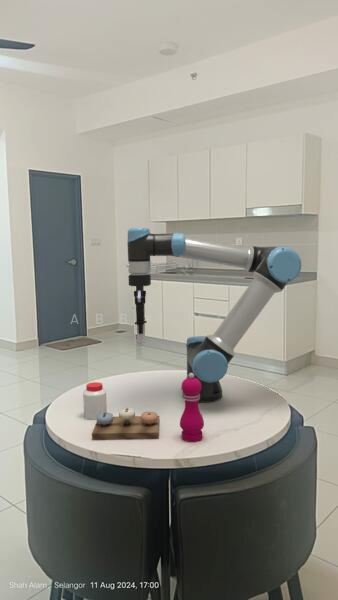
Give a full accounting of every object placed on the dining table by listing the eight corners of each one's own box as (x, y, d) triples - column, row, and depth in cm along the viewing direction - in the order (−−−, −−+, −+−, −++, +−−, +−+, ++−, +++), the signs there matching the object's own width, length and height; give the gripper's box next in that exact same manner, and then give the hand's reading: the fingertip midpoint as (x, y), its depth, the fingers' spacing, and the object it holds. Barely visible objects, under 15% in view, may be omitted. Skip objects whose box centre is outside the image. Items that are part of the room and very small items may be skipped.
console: (159, 421, 159) (159, 415, 159) (158, 438, 145) (158, 432, 145) (98, 422, 159) (98, 416, 159) (92, 440, 145) (91, 433, 145)
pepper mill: (178, 433, 149) (177, 370, 147) (202, 432, 150) (201, 369, 147) (181, 443, 142) (180, 376, 140) (205, 441, 143) (205, 375, 140)
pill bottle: (88, 421, 161) (86, 389, 159) (81, 414, 167) (79, 383, 166) (110, 417, 164) (109, 385, 163) (102, 410, 171) (101, 380, 170)
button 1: (157, 424, 155) (157, 410, 154) (157, 430, 150) (157, 416, 149) (142, 424, 155) (141, 411, 154) (141, 430, 150) (140, 416, 149)
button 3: (113, 424, 155) (113, 411, 154) (112, 431, 150) (111, 417, 149) (98, 425, 155) (97, 411, 154) (95, 431, 150) (95, 417, 149)
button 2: (135, 420, 155) (135, 407, 154) (134, 426, 150) (134, 412, 149) (119, 420, 155) (119, 407, 154) (118, 426, 150) (118, 412, 149)
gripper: (129, 272, 170) (131, 338, 173) (126, 275, 158) (128, 346, 160) (151, 272, 170) (152, 338, 173) (149, 275, 158) (151, 346, 160)
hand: (141, 342), depth 167 cm, fingers closed
